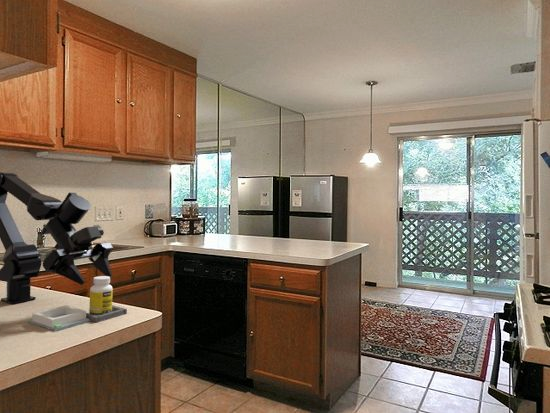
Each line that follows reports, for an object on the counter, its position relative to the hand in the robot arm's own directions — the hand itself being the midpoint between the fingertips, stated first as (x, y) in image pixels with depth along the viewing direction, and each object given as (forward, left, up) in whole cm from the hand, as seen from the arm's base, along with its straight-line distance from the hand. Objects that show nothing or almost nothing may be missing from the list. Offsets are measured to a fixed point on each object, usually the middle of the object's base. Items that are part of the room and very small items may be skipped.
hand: (97, 280), depth 102 cm
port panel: (-2, -9, -9) cm, 13 cm away
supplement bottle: (+1, 0, -9) cm, 9 cm away
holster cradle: (+1, 0, -9) cm, 9 cm away
